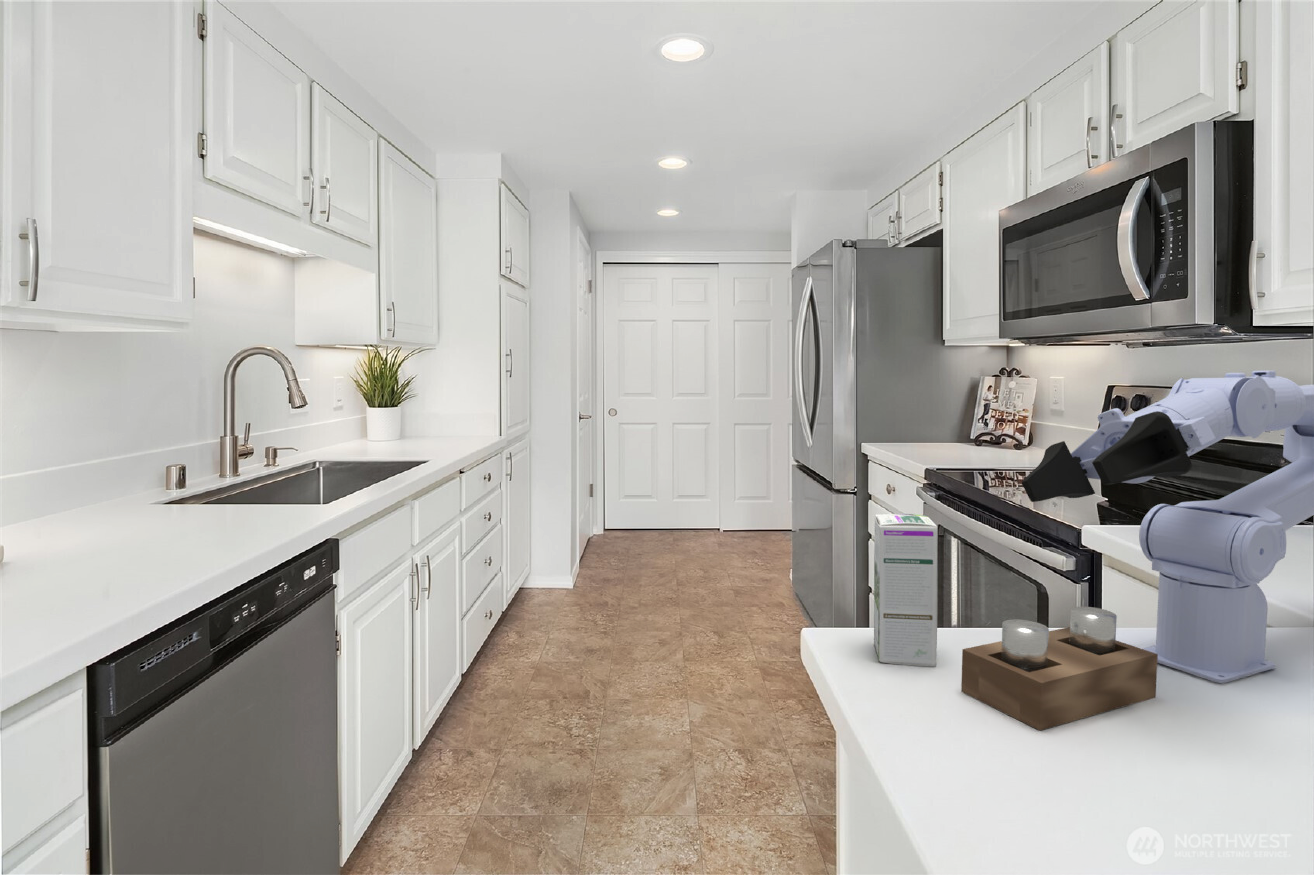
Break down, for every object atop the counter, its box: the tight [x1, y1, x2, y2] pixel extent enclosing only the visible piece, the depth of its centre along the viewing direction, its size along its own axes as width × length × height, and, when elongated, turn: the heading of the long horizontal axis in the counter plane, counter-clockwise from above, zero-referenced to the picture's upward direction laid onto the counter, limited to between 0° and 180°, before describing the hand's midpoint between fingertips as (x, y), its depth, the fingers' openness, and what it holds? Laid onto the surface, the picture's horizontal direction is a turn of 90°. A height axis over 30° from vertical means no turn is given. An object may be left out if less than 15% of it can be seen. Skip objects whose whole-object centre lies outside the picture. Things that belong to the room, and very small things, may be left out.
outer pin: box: [1001, 618, 1050, 672], centre depth 61 cm, size 4×4×4 cm
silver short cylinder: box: [1069, 606, 1118, 656], centre depth 65 cm, size 4×4×4 cm
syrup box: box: [873, 513, 939, 668], centre depth 72 cm, size 6×6×14 cm
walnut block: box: [960, 626, 1158, 731], centre depth 63 cm, size 15×8×4 cm, turn 114°
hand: (1062, 482), depth 61 cm, fingers open, 7 cm apart
